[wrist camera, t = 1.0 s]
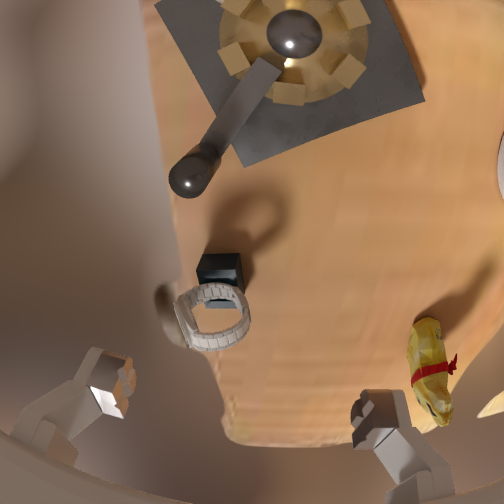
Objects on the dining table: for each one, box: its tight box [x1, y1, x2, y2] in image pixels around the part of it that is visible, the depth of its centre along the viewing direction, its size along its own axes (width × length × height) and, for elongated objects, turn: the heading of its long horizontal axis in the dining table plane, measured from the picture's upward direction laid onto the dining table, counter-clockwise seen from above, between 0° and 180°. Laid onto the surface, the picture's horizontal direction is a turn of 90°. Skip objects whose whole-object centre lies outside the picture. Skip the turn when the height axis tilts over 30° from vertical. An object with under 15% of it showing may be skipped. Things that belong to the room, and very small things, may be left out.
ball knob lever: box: [169, 0, 371, 198], centre depth 20 cm, size 19×11×9 cm, turn 146°
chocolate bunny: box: [407, 317, 457, 427], centre depth 35 cm, size 7×11×15 cm, turn 12°
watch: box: [173, 253, 251, 351], centre depth 33 cm, size 6×8×11 cm
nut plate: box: [154, 0, 425, 168], centre depth 22 cm, size 18×18×2 cm
